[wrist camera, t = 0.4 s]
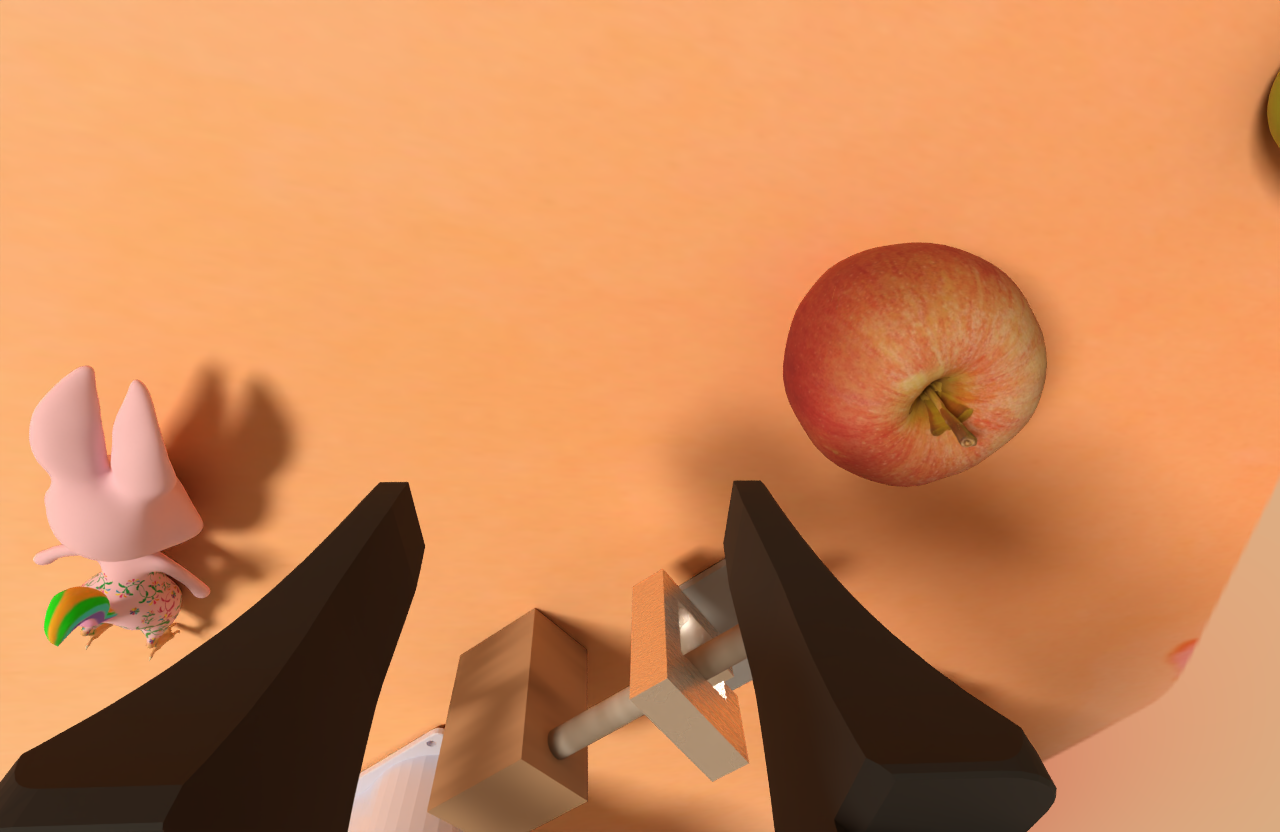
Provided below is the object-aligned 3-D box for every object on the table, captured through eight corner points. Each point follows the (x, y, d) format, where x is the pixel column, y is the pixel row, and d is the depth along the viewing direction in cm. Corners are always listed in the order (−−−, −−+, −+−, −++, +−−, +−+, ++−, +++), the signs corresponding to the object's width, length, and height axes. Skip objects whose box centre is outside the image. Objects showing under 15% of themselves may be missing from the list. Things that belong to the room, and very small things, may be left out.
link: (698, 658, 28) (712, 781, 22) (632, 587, 26) (629, 699, 21) (728, 642, 27) (749, 763, 22) (662, 568, 26) (667, 678, 20)
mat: (721, 689, 34) (722, 695, 33) (635, 612, 30) (635, 618, 30) (847, 621, 32) (850, 627, 31) (771, 530, 28) (773, 536, 28)
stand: (514, 693, 32) (496, 848, 26) (460, 655, 31) (426, 811, 24) (760, 546, 29) (812, 684, 22) (714, 494, 27) (756, 627, 20)
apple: (911, 427, 26) (1031, 554, 19) (736, 402, 25) (796, 528, 18) (999, 243, 22) (1186, 316, 15) (798, 202, 21) (904, 262, 14)
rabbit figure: (233, 608, 30) (245, 376, 21) (159, 732, 25) (137, 496, 17) (87, 578, 28) (38, 314, 20) (-22, 705, 23) (-146, 428, 15)
